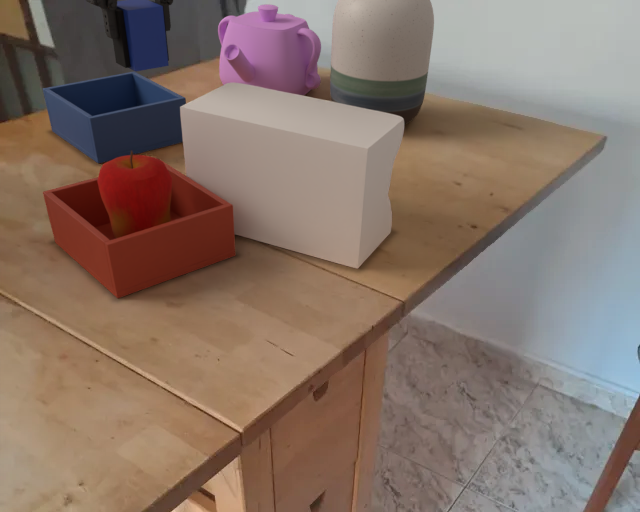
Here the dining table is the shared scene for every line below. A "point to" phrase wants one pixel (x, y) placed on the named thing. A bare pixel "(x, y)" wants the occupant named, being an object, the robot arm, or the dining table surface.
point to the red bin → (142, 235)
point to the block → (145, 34)
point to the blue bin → (115, 115)
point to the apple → (135, 193)
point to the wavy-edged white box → (295, 168)
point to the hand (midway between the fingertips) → (142, 61)
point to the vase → (381, 54)
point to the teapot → (269, 51)
